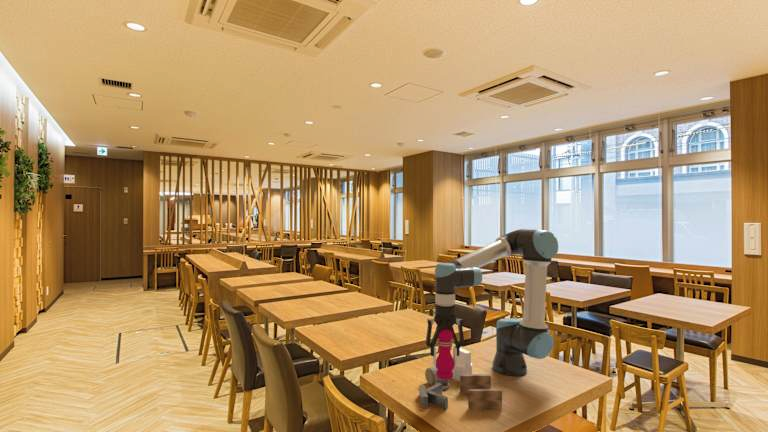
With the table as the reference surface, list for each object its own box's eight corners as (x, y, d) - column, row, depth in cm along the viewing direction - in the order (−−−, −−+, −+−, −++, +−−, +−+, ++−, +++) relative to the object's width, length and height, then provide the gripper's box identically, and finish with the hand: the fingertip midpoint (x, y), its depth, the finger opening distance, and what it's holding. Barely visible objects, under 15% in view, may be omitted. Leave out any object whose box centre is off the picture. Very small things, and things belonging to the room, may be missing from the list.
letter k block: (441, 392, 158) (441, 382, 158) (448, 409, 144) (448, 398, 144) (418, 393, 157) (418, 382, 157) (423, 410, 143) (423, 399, 143)
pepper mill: (454, 381, 146) (454, 327, 146) (434, 379, 148) (435, 325, 148) (454, 373, 153) (455, 322, 153) (435, 371, 155) (436, 320, 155)
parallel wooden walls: (489, 391, 159) (489, 374, 159) (502, 409, 144) (502, 390, 144) (460, 391, 158) (460, 374, 158) (469, 410, 143) (469, 391, 143)
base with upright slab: (447, 375, 175) (447, 348, 175) (462, 371, 179) (462, 345, 179) (460, 383, 167) (460, 354, 167) (476, 378, 171) (476, 351, 171)
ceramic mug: (423, 381, 168) (423, 364, 168) (439, 378, 172) (440, 360, 171) (437, 392, 158) (438, 373, 158) (454, 388, 162) (454, 369, 162)
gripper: (468, 301, 155) (468, 360, 155) (417, 301, 154) (417, 360, 154) (473, 306, 147) (473, 367, 147) (420, 306, 147) (419, 368, 147)
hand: (444, 364), depth 151 cm, fingers closed on pepper mill, 7 cm apart
